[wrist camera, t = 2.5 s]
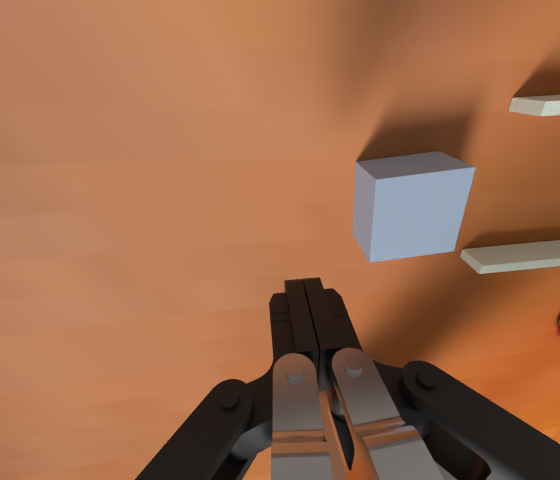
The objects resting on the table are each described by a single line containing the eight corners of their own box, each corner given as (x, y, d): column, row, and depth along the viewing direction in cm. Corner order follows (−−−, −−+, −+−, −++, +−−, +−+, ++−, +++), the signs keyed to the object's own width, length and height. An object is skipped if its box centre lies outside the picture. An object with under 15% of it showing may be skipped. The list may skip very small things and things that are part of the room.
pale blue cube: (424, 224, 24) (454, 251, 20) (352, 234, 23) (369, 262, 20) (437, 150, 20) (475, 166, 17) (354, 160, 20) (375, 179, 17)
